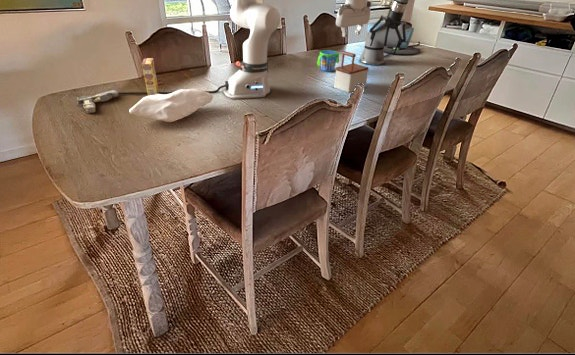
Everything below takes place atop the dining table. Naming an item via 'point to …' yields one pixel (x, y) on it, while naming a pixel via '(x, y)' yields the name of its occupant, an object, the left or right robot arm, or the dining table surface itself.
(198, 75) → the dining table surface
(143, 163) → the dining table surface
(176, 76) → the dining table surface
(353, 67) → the lid
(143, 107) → the crumpled cloth
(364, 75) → the chest
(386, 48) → the grey round tray
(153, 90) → the candy box
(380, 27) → the right robot arm
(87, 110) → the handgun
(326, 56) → the snack cup
